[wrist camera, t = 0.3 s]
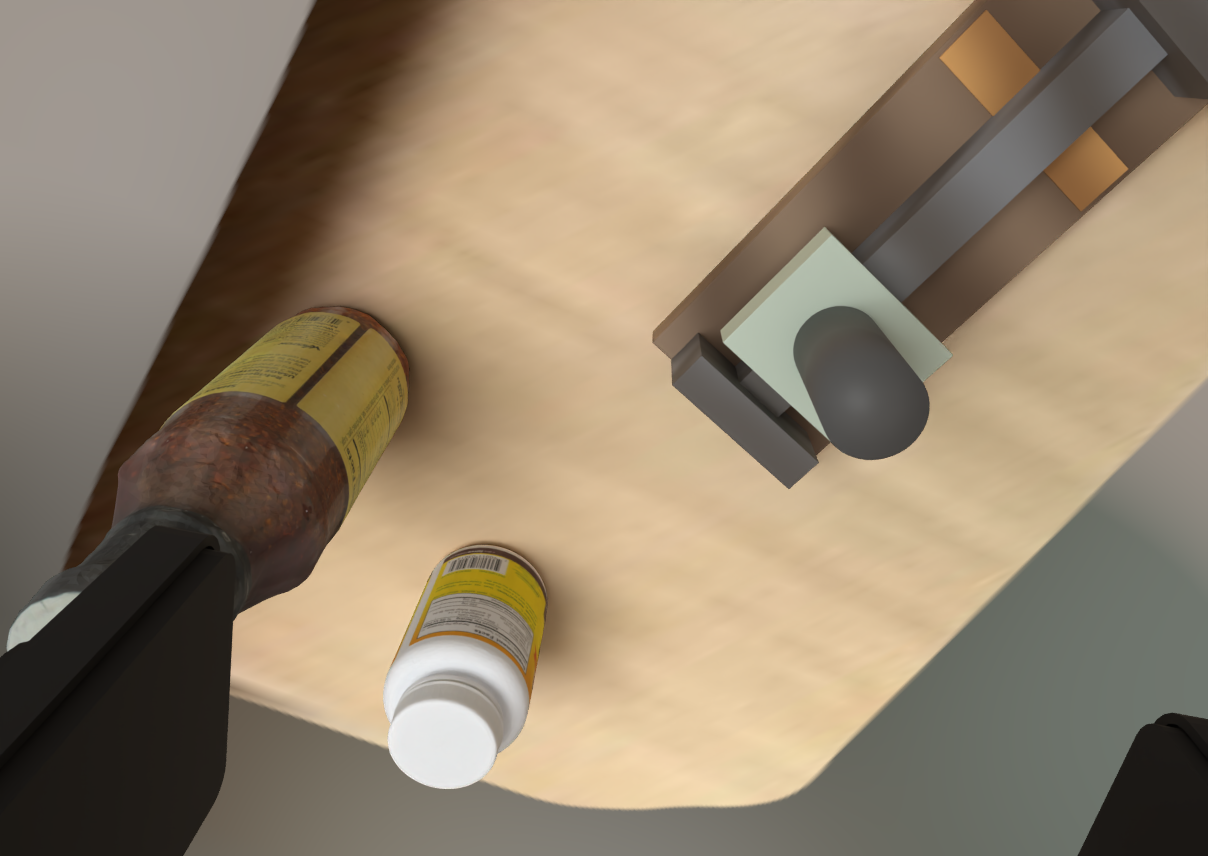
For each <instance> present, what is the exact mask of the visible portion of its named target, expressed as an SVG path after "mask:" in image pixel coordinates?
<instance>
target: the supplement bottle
mask: <svg viewBox="0 0 1208 856" xmlns="http://www.w3.org/2000/svg"><path fill="white" fill-rule="evenodd" d="M546 612H547V593H546V589H545V586H544V583H543V581H542V579H541V577H540V575H539V574H538V572H537V571H536V570H535V568H534V567H533V566H532V565H531V564H530V563H529V562H528V561H527V560H525V559H524V558H523V557H521V556H520V555H518V554H516V553H515V552H513V551H510V550H508V549H505V548H502V547H498V546H492V545H474V546H469V547H465V548H462V549H459V550H457V551H455V552H453V553H451V554H449V555H448V556H446V557H445V558H444V559H443V560H442V561H440V563H439V564H438V565H437V566H436V567H435V568H434V570H433V571H432V573H431V575H430V577H429V579H428V581H427V584H426V586H425V588H424V590H423V593H422V595H421V597H420V600H419V602H418V604H417V607H416V609H415V611H414V614H413V616H412V618H411V621H410V623H409V625H408V628H407V630H406V632H405V635H404V637H403V639H402V642H401V644H400V646H399V648H398V651H397V653H396V655H395V658H394V660H393V662H392V664H391V667H390V669H389V672H388V674H387V677H386V680H385V684H384V691H383V702H384V708H385V712H386V715H387V717H388V720H389V722H390V724H391V725H390V728H389V732H388V747H389V750H390V754H391V756H392V758H393V760H394V761H395V763H396V764H397V765H398V767H399V768H400V769H401V770H402V771H403V772H404V773H405V774H406V775H408V776H409V777H410V778H412V779H414V780H416V781H417V782H420V783H422V784H424V785H427V786H430V787H434V788H441V789H456V788H461V787H465V786H468V785H471V784H473V783H475V782H477V781H479V780H480V779H482V778H483V777H484V776H485V775H486V774H487V773H488V772H489V771H490V769H491V768H492V766H493V764H494V762H495V760H496V757H497V754H498V753H500V752H501V751H503V750H504V749H505V748H507V747H508V746H509V745H510V744H511V743H512V742H513V741H514V740H515V739H516V738H517V737H518V735H519V733H520V732H521V730H522V728H523V726H524V724H525V721H526V717H527V714H528V710H529V704H530V699H531V693H532V689H533V683H534V677H535V672H536V666H537V661H538V656H539V651H540V645H541V640H542V635H543V629H544V624H545V620H546Z"/></svg>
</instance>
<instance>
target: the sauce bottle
mask: <svg viewBox="0 0 1208 856" xmlns="http://www.w3.org/2000/svg"><path fill="white" fill-rule="evenodd" d="M408 391H409V365H408V361H407V358H406V356H405V354H404V353H403V351H402V350H401V348H400V346H399V344H398V342H397V341H396V340H395V339H394V338H393V337H392V336H391V335H390V334H389V332H388V331H387V330H386V329H385V328H384V327H382V326H381V325H380V324H379V323H378V322H377V321H376V320H374V319H373V318H372V317H371V316H370V315H368V314H365V313H362V312H360V311H358V310H354V309H351V308H344V307H341V306H340V307H320V308H310V309H308V310H304V311H301V312H300V313H298V314H297V315H296V316H295V317H292V318H290V319H288V320H285V321H283V322H282V323H280V324H278V325H277V326H276V327H274V328H273V329H272V330H271V331H269V332H268V333H267V334H266V335H265V336H263V337H262V338H261V339H260V340H259V341H258V342H256V343H255V344H254V345H253V346H252V347H251V348H249V349H248V350H247V351H246V352H245V353H244V354H243V355H241V356H240V357H239V358H238V359H237V360H235V361H234V362H233V363H232V364H231V365H230V366H228V367H227V368H226V369H225V370H224V371H223V372H221V373H220V374H219V375H218V376H217V377H216V378H215V379H213V380H212V381H211V382H210V383H209V384H207V385H206V386H205V387H204V388H203V389H202V390H200V391H199V392H198V393H197V394H196V395H194V396H193V397H192V398H191V399H190V400H188V401H187V402H186V403H185V404H184V405H182V406H181V407H180V408H179V409H178V410H176V411H175V412H174V413H173V414H172V415H171V416H170V417H169V418H168V419H167V421H166V422H165V423H164V424H163V426H162V427H161V429H160V431H158V432H157V433H156V434H154V435H153V436H152V437H151V438H150V439H148V440H147V441H146V442H145V443H144V444H143V445H142V446H141V447H140V448H139V449H138V450H137V451H136V452H135V453H134V455H132V456H131V457H130V458H129V460H127V461H126V462H124V464H123V465H122V466H121V468H120V469H119V472H118V480H119V481H118V492H117V499H116V505H115V511H114V517H113V524H112V529H111V530H110V531H109V532H108V533H107V535H106V536H105V539H104V540H103V541H102V543H101V544H100V545H99V546H98V547H97V548H96V549H95V551H94V552H92V553H91V554H90V555H89V556H88V557H87V558H86V559H85V560H84V561H83V562H82V563H81V564H80V565H78V566H77V567H74V568H70V569H68V570H65V571H63V572H61V573H59V574H57V575H55V576H53V577H52V578H50V579H49V580H47V581H46V582H45V583H44V585H43V586H42V587H41V588H40V590H39V591H38V592H37V593H36V594H35V595H34V596H33V597H32V599H31V600H30V602H29V603H28V604H27V605H26V606H25V607H24V608H23V609H21V610H20V611H19V613H18V616H17V617H16V619H15V620H14V622H13V624H12V625H11V627H10V631H9V637H8V642H7V646H6V647H7V651H9V650H10V649H12V648H13V647H15V646H16V645H17V644H19V643H22V642H26V641H29V640H30V639H31V638H32V637H33V636H34V635H36V634H37V633H38V632H39V631H40V630H41V629H42V628H43V627H44V626H45V625H46V624H47V623H49V622H50V621H51V620H52V619H53V618H54V617H55V616H56V615H57V614H58V613H59V612H60V611H61V610H63V609H64V608H65V607H66V606H67V605H68V604H69V603H70V602H71V601H72V600H73V599H74V598H76V597H77V596H78V595H79V594H80V593H81V592H82V591H83V590H84V589H85V588H86V587H87V586H88V585H90V584H91V583H92V582H93V581H94V580H95V579H96V578H97V577H98V576H99V575H100V574H101V573H103V572H104V571H105V570H106V569H107V568H108V567H109V566H110V565H111V564H112V563H113V562H114V561H116V560H117V559H118V558H119V557H120V556H121V555H122V554H123V553H124V552H125V551H126V550H127V549H128V548H130V547H131V546H132V545H133V544H134V543H135V542H136V541H137V540H138V539H139V538H140V537H141V536H143V535H144V534H145V533H146V532H147V531H148V530H149V529H151V528H152V527H154V526H155V525H162V526H167V527H172V528H178V529H183V530H189V531H194V532H199V533H205V534H210V535H214V536H215V537H216V538H217V539H218V541H219V545H220V551H222V552H227V553H231V554H232V555H233V556H234V558H235V568H236V570H235V590H234V610H233V621H234V620H235V618H236V616H237V615H238V614H239V613H241V612H243V611H245V610H247V609H248V608H250V607H252V606H254V605H256V604H258V603H260V602H262V601H264V600H266V599H268V598H271V597H273V596H275V595H278V594H281V593H285V592H288V591H290V590H292V589H293V588H295V587H297V586H299V585H300V584H301V583H302V582H304V581H305V580H306V579H307V578H308V577H309V575H310V574H311V572H312V571H313V569H314V567H315V565H316V563H317V561H318V559H319V558H320V556H321V554H322V552H323V550H324V549H325V547H326V545H327V544H328V543H329V542H330V540H331V539H332V538H333V537H334V535H335V534H336V533H337V532H338V530H339V529H340V527H341V525H342V523H343V521H344V520H345V518H346V516H347V515H348V513H349V511H350V509H351V507H352V506H353V504H354V502H355V500H356V498H357V497H358V495H359V493H360V491H361V490H362V488H363V486H364V485H365V483H366V481H367V479H368V478H369V476H370V474H371V473H372V471H373V469H374V467H375V466H376V464H377V462H378V461H379V459H380V457H381V455H382V454H383V452H384V450H385V449H386V447H387V445H388V444H389V442H390V440H391V439H392V437H393V435H394V434H395V432H396V430H397V428H398V427H399V425H400V423H401V421H402V419H403V417H404V414H405V411H406V407H407V404H408Z"/></svg>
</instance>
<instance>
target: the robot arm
mask: <svg viewBox="0 0 1208 856" xmlns="http://www.w3.org/2000/svg"><path fill="white" fill-rule="evenodd" d="M235 570H236V568H235V558H234V556H233V555H232V554H231V553H227V552H222V551H220V545H219V541H218V539H217V538H216V537H215V536H214V535H210V534H205V533H199V532H194V531H189V530H183V529H178V528H172V527H167V526H162V525H155V526H154V527H152V528H151V529H149V530H148V531H147V532H146V533H145V534H144V535H143V536H141V537H140V538H139V539H138V540H137V541H136V542H135V543H134V544H133V545H132V546H131V547H130V548H128V549H127V550H126V551H125V552H124V553H123V554H122V555H121V556H120V557H119V558H118V559H117V560H116V561H114V562H113V563H112V564H111V565H110V566H109V567H108V568H107V569H106V570H105V571H104V572H103V573H101V574H100V575H99V576H98V577H97V578H96V579H95V580H94V581H93V582H92V583H91V584H90V585H88V586H87V587H86V588H85V589H84V590H83V591H82V592H81V593H80V594H79V595H78V596H77V597H76V598H74V599H73V600H72V601H71V602H70V603H69V604H68V605H67V606H66V607H65V608H64V609H63V610H61V611H60V612H59V613H58V614H57V615H56V616H55V617H54V618H53V619H52V620H51V621H50V622H49V623H47V624H46V625H45V626H44V627H43V628H42V629H41V630H40V631H39V632H38V633H37V634H36V635H34V636H33V637H32V638H31V639H30V640H29V641H26V642H22V643H19V644H17V645H16V646H15V647H13V648H12V649H10V650H9V651H7V652H6V653H5V654H4V655H3V656H1V657H0V856H183V855H184V853H185V852H186V850H187V848H188V847H189V845H190V843H191V842H192V840H193V838H194V836H195V835H196V833H197V831H198V830H199V828H200V826H201V825H202V823H203V821H204V819H205V818H206V816H207V814H208V813H209V811H210V809H211V808H212V806H213V804H214V802H215V800H216V798H217V796H218V793H219V791H220V787H221V785H222V781H223V778H224V773H225V767H226V753H227V732H228V711H229V692H230V671H231V651H232V631H233V610H234V590H235ZM1078 856H1208V719H1204V718H1198V717H1193V716H1188V715H1182V714H1177V713H1168V714H1164V715H1162V716H1161V717H1160V718H1158V719H1157V720H1156V721H1155V723H1154V724H1147V725H1145V726H1144V727H1142V728H1141V729H1140V731H1139V732H1138V734H1137V735H1136V737H1135V739H1134V741H1133V743H1132V745H1131V748H1130V749H1129V752H1128V753H1127V755H1126V758H1125V760H1124V762H1123V764H1122V766H1121V768H1120V770H1119V772H1118V774H1117V776H1116V778H1115V780H1114V782H1113V784H1112V786H1111V788H1110V790H1109V792H1108V794H1107V797H1106V799H1105V801H1104V803H1103V805H1102V807H1101V809H1100V811H1099V813H1098V815H1097V817H1096V819H1095V821H1094V824H1093V825H1092V827H1091V829H1090V831H1089V834H1088V836H1087V838H1086V840H1085V842H1084V844H1083V846H1082V848H1081V850H1080V852H1079V854H1078Z"/></svg>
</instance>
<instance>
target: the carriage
mask: <svg viewBox="0 0 1208 856" xmlns="http://www.w3.org/2000/svg"><path fill="white" fill-rule="evenodd" d="M720 331H721V336H722V340H723V343H724V344H725V345H726V346H727V347H728V348H730V349H731V350H732V351H733V352H734V353H735V354H736V355H737V356H738V357H739V358H740V359H741V360H743V361H744V362H745V363H746V364H747V365H748V366H749V367H750V368H751V369H752V370H753V371H754V372H756V373H757V374H758V375H759V376H760V377H761V378H762V379H763V380H764V381H765V382H766V383H767V384H769V385H770V386H771V387H772V388H773V389H774V390H775V391H776V392H777V393H778V394H779V395H781V396H782V397H783V398H784V399H785V400H786V401H787V402H788V403H789V404H790V405H791V406H792V407H794V408H795V409H796V410H797V411H798V412H799V413H800V414H801V415H802V416H803V417H804V418H805V419H807V420H808V421H809V422H810V423H811V424H812V425H813V426H814V427H815V428H816V429H817V430H818V431H820V432H821V433H822V434H823V435H824V436H825V437H826V438H827V439H828V440H829V441H830V442H831V443H832V444H833V445H834V446H835V447H836V448H838V449H839V450H840V451H841V452H842V453H845V454H847V455H849V456H851V457H855V458H858V459H864V460H877V459H883V458H887V457H891V456H893V455H896V454H898V453H900V452H901V451H903V450H905V449H906V448H907V447H909V446H910V445H911V444H912V443H913V442H914V441H915V440H916V439H917V438H918V437H919V435H920V434H921V432H922V431H923V429H924V427H925V425H926V423H927V419H928V415H929V397H928V393H927V390H926V388H925V386H924V384H923V382H924V381H925V380H926V379H927V378H928V377H929V376H930V375H932V374H933V373H934V372H935V371H936V370H937V369H938V368H939V367H941V366H942V365H943V364H944V363H945V362H946V361H947V360H948V359H950V358H951V357H952V356H953V354H952V353H951V352H950V351H949V350H948V349H947V348H946V347H945V346H944V345H943V344H942V343H941V342H940V341H939V340H938V339H937V338H936V337H935V336H934V335H933V334H932V333H931V332H930V331H929V330H928V329H927V328H926V327H925V326H924V325H923V324H922V323H921V322H920V321H919V320H918V319H917V318H916V317H915V316H914V315H913V314H912V313H911V312H910V311H909V310H908V309H907V308H906V307H905V306H904V305H903V304H902V303H901V302H900V301H899V300H898V299H897V298H896V297H895V296H894V295H893V294H892V293H890V292H889V291H888V290H887V289H886V288H885V287H884V286H883V285H882V284H881V283H880V282H879V281H878V280H877V279H876V278H875V277H874V276H873V275H872V274H871V273H870V272H869V271H868V270H867V269H866V268H865V267H864V266H863V265H862V264H861V263H860V262H859V261H858V260H857V259H856V258H855V257H854V256H853V255H852V254H851V253H850V252H849V251H848V250H847V248H846V247H845V246H844V245H843V244H842V243H841V242H840V241H839V240H838V239H837V238H836V237H835V236H834V235H833V234H832V233H831V232H830V231H829V230H828V229H827V228H826V227H824V228H823V229H822V230H821V231H820V232H819V233H818V234H817V235H816V236H815V237H814V238H813V239H812V240H811V241H810V242H809V243H808V244H807V245H806V246H805V247H804V248H803V249H802V250H801V251H800V252H799V253H798V254H797V255H796V256H795V257H794V258H793V259H792V260H791V261H790V262H789V263H788V264H787V265H786V266H785V267H784V268H782V269H781V270H780V271H779V272H778V273H777V274H776V275H775V276H774V277H773V278H772V279H771V280H770V281H769V282H768V283H767V284H766V285H765V286H764V287H763V288H762V289H761V290H760V291H759V292H758V293H757V294H756V295H755V296H754V297H753V298H752V299H751V300H750V301H749V302H748V303H747V304H746V305H745V306H744V307H743V308H742V309H741V310H740V311H739V312H738V313H737V314H736V315H735V316H734V317H733V318H732V319H731V320H730V321H729V322H728V323H727V324H726V325H725V326H724V327H723V328H722V329H721V330H720Z"/></svg>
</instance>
